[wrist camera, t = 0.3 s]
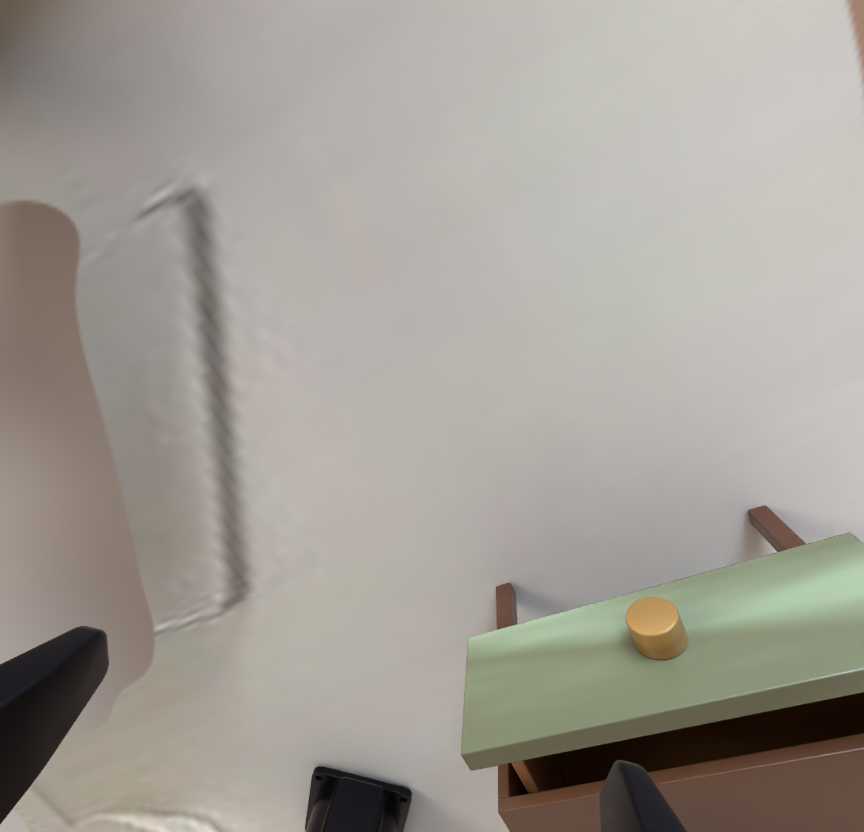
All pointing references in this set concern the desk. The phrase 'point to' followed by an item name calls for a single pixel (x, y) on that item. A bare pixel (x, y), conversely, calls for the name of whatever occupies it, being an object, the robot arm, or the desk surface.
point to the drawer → (675, 671)
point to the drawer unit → (714, 772)
